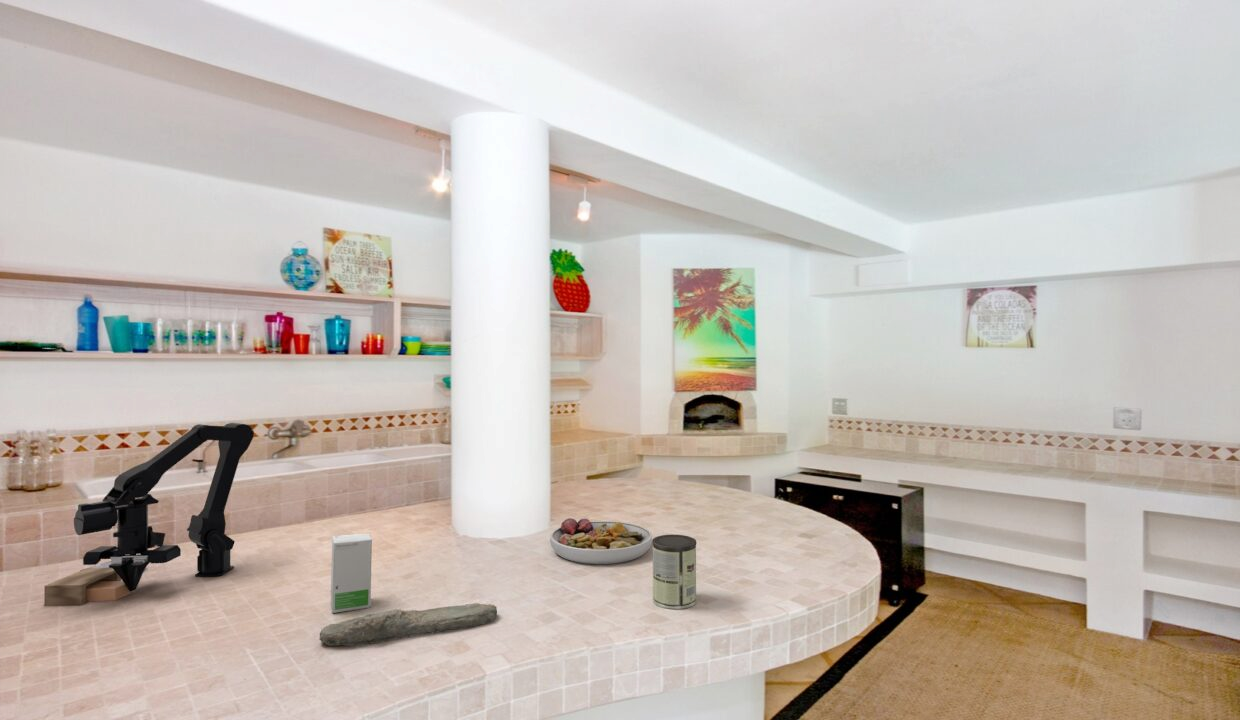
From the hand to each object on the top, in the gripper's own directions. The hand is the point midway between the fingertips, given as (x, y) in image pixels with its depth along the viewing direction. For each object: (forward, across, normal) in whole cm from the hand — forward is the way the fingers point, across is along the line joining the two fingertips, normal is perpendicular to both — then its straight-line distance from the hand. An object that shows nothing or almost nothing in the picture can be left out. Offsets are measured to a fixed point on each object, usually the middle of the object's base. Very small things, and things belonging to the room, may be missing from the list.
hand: (132, 590), depth 146 cm
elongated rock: (+2, -72, +23) cm, 75 cm away
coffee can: (+2, -128, +12) cm, 129 cm away
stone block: (+1, +15, -14) cm, 21 cm away
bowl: (+2, -113, -28) cm, 116 cm away
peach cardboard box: (+1, +5, +1) cm, 6 cm away
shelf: (+1, +11, 0) cm, 11 cm away
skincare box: (+1, -54, +10) cm, 55 cm away
